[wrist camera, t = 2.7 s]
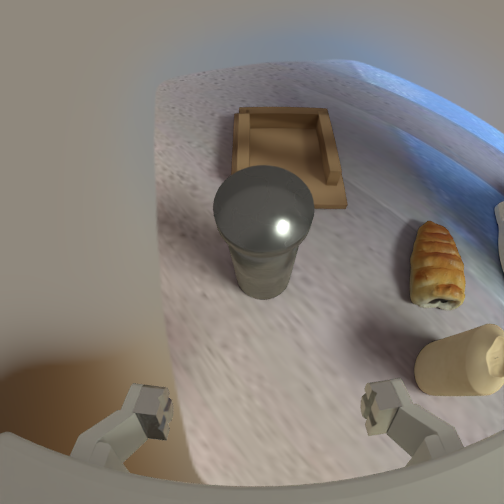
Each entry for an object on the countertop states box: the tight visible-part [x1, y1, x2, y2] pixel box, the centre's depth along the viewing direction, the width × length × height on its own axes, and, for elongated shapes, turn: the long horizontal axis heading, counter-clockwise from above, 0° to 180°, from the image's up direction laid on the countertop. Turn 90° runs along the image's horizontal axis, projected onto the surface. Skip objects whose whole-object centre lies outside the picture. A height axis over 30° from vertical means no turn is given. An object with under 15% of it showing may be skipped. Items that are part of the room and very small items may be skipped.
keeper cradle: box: [231, 107, 347, 209], centre depth 32 cm, size 14×12×3 cm
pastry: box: [410, 221, 465, 310], centre depth 26 cm, size 9×7×4 cm
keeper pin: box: [213, 165, 314, 300], centre depth 23 cm, size 6×6×12 cm
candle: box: [414, 324, 504, 396], centre depth 19 cm, size 6×6×10 cm
